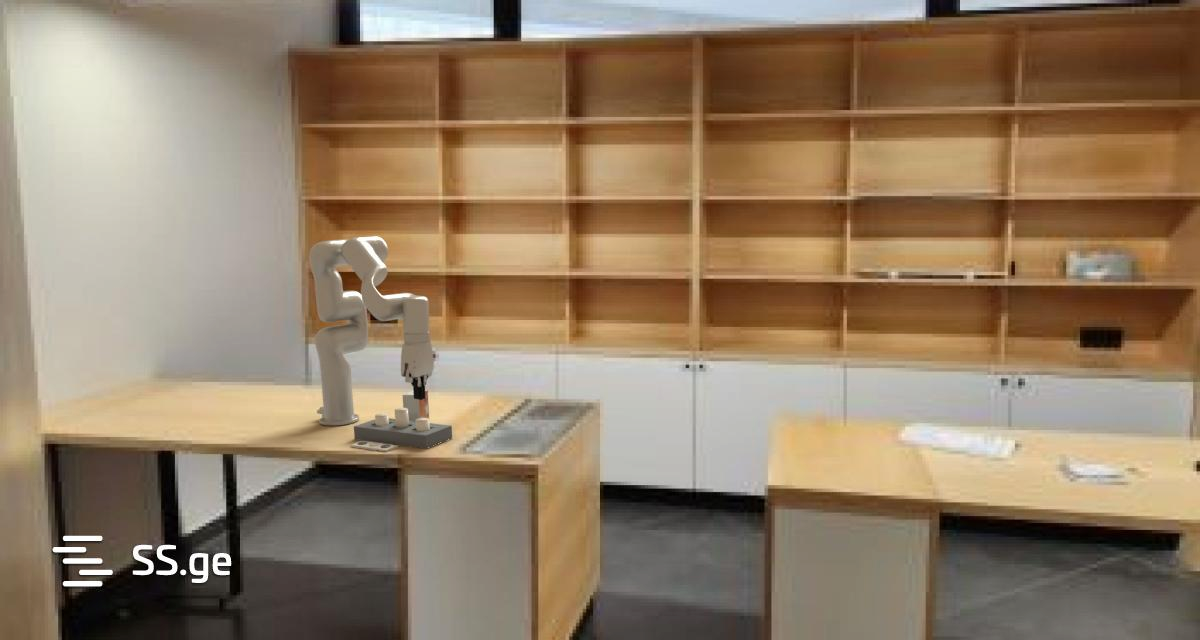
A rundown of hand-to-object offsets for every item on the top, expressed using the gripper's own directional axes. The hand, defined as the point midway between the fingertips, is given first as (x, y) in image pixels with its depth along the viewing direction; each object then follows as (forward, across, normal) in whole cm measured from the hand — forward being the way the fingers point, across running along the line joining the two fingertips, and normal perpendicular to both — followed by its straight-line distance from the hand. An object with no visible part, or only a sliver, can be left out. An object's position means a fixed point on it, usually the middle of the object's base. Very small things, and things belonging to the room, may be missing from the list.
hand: (419, 398), depth 276 cm
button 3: (+13, 0, +1) cm, 13 cm away
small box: (+14, -16, -15) cm, 26 cm away
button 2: (+11, 0, -7) cm, 13 cm away
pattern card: (+13, +11, -9) cm, 19 cm away
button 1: (+13, 0, -15) cm, 20 cm away
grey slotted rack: (+13, 0, -7) cm, 15 cm away
